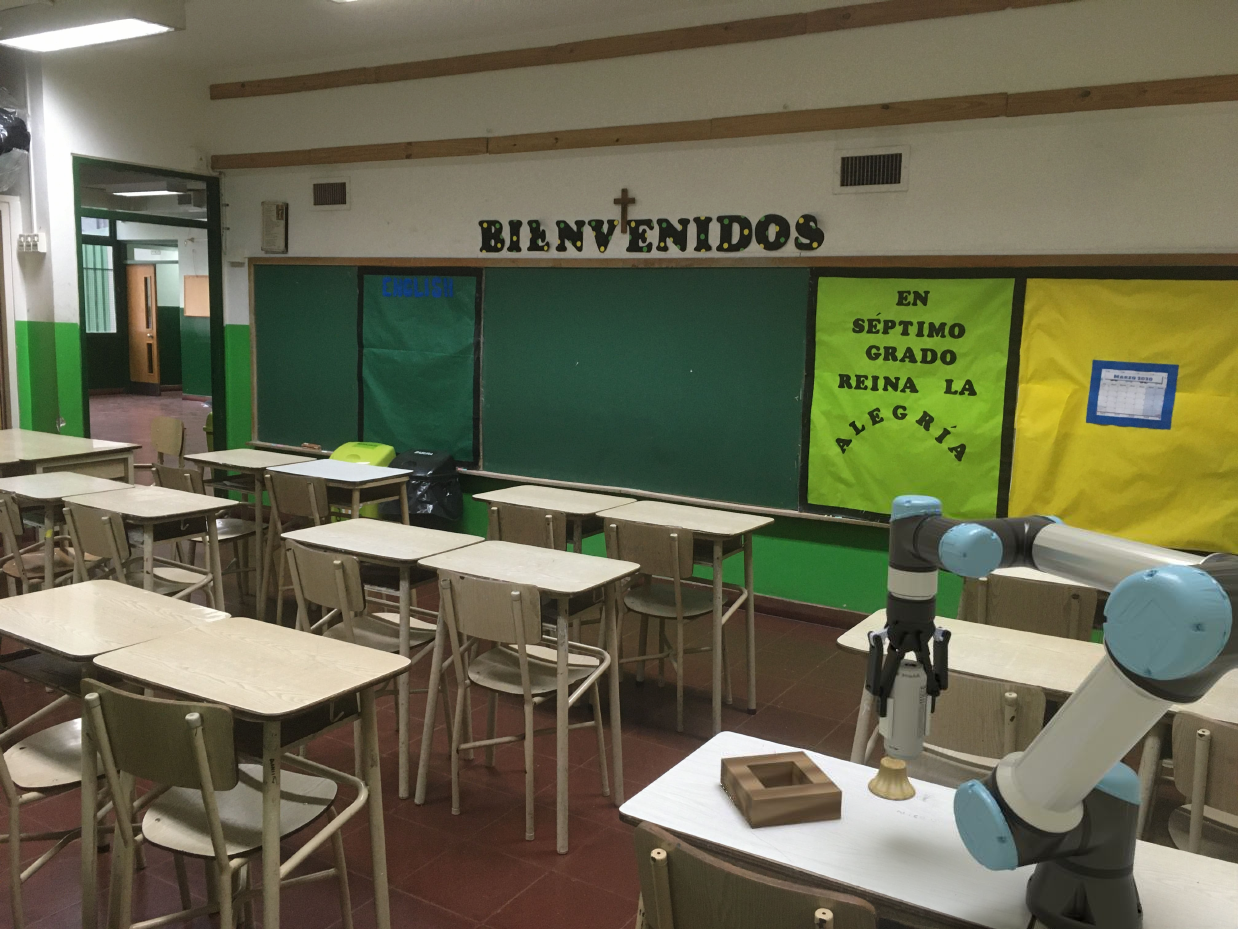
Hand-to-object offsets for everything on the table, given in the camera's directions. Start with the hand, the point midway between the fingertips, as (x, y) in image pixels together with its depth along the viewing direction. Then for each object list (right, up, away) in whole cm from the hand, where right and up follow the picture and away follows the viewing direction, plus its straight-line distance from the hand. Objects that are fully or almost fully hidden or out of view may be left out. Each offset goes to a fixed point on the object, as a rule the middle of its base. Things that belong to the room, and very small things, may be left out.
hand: (904, 733), depth 156 cm
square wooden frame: (-18, -16, +15) cm, 28 cm away
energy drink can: (0, -4, 0) cm, 4 cm away
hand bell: (+4, -16, +20) cm, 26 cm away
